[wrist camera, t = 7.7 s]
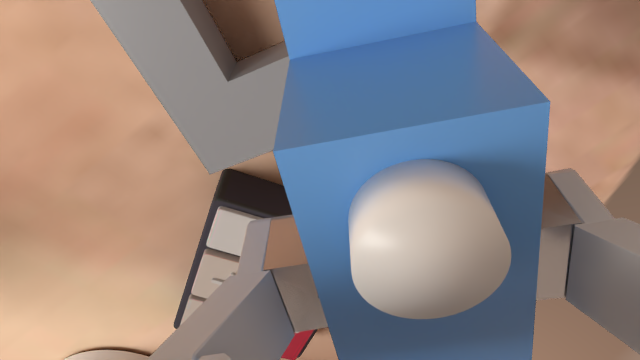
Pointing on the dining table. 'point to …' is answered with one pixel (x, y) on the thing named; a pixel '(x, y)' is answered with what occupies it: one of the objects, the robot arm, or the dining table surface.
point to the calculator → (233, 241)
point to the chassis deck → (202, 77)
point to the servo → (413, 177)
